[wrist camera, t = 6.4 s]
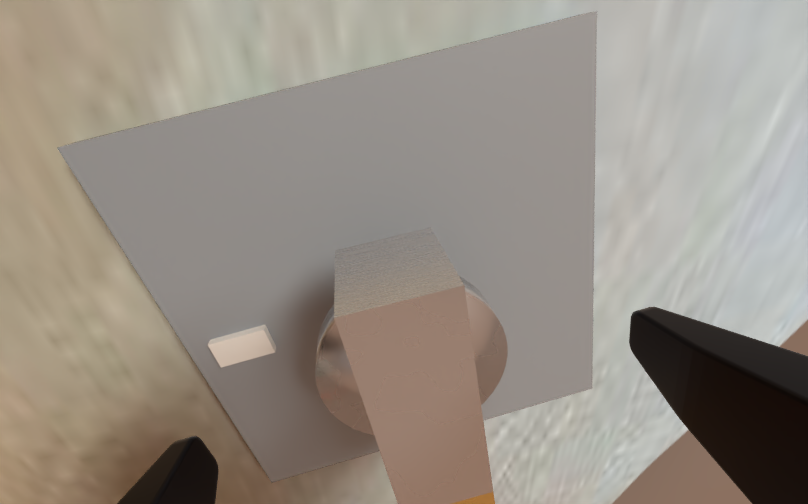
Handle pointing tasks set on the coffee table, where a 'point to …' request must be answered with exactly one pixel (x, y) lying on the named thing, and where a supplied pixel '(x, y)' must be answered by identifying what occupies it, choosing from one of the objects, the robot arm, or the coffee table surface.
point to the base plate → (365, 220)
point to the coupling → (413, 365)
